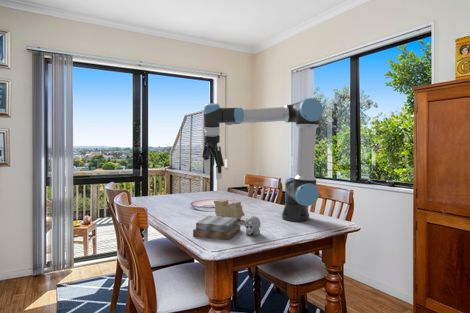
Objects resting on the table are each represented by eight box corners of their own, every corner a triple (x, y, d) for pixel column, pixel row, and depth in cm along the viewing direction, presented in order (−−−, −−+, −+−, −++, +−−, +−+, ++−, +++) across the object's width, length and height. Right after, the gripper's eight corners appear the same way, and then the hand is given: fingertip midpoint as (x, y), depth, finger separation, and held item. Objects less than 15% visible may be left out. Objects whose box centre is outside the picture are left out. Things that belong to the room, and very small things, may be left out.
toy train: (239, 222, 167) (239, 203, 166) (213, 218, 176) (213, 200, 176) (244, 220, 171) (244, 202, 171) (219, 216, 181) (219, 198, 180)
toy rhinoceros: (240, 238, 137) (240, 219, 137) (247, 231, 149) (247, 213, 148) (256, 240, 135) (256, 220, 135) (261, 233, 146) (262, 215, 146)
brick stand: (240, 230, 151) (240, 217, 151) (228, 240, 135) (229, 226, 135) (207, 227, 156) (207, 215, 156) (193, 236, 140) (193, 223, 140)
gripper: (195, 131, 165) (196, 169, 171) (216, 140, 145) (217, 183, 150) (208, 130, 169) (208, 167, 175) (230, 138, 148) (230, 180, 154)
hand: (212, 175), depth 162 cm, fingers open, 13 cm apart
